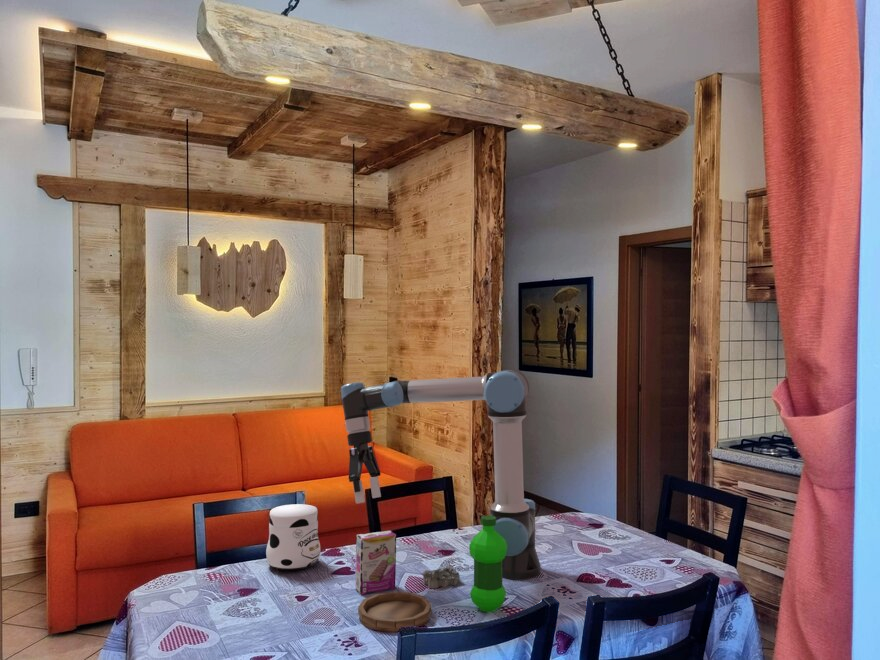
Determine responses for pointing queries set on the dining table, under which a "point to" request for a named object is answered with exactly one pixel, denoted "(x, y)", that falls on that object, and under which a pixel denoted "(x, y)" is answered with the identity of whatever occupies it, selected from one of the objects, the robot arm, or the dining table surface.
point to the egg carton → (440, 577)
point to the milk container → (293, 537)
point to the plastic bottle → (488, 566)
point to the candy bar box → (375, 562)
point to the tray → (394, 611)
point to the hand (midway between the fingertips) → (368, 500)
